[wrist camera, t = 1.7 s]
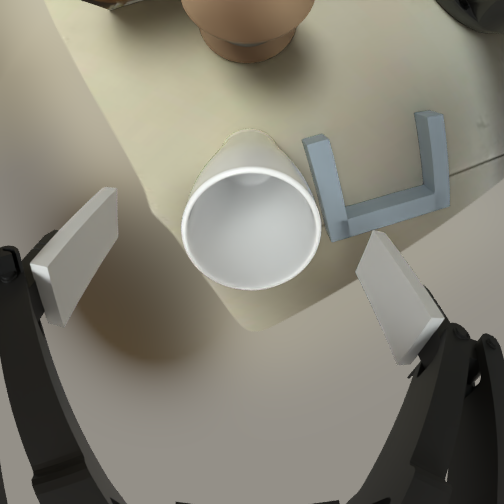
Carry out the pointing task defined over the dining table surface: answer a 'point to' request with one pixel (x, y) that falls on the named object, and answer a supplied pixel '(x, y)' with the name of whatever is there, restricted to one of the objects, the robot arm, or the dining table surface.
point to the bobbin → (247, 26)
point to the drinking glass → (250, 215)
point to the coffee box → (111, 3)
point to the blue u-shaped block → (389, 206)
